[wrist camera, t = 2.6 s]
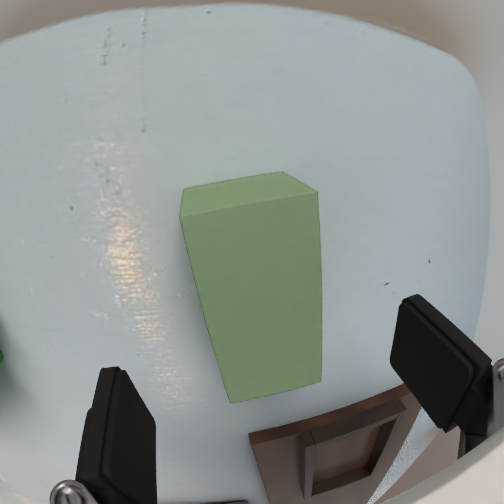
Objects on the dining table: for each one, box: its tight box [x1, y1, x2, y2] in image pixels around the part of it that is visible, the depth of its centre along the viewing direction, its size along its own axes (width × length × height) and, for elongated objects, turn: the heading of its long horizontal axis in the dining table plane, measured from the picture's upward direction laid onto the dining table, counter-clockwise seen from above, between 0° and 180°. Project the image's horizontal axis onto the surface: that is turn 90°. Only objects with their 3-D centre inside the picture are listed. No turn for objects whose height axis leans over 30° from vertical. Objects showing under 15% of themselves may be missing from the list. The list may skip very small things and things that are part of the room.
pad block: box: [180, 172, 322, 404], centre depth 13 cm, size 4×9×4 cm, turn 8°
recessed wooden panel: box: [249, 384, 422, 504], centre depth 28 cm, size 16×38×3 cm, turn 8°
